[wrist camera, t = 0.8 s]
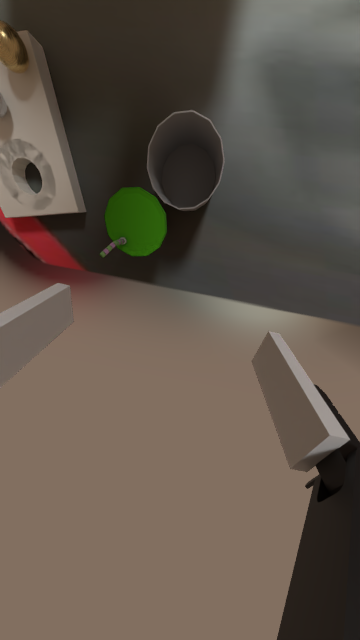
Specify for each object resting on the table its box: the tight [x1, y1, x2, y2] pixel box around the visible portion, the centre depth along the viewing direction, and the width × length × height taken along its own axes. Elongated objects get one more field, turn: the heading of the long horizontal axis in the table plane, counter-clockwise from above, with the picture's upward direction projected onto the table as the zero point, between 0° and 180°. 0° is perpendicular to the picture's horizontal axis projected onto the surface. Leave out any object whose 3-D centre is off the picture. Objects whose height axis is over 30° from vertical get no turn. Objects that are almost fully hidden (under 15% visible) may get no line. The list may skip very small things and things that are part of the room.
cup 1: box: [99, 187, 167, 258], centre depth 26 cm, size 8×8×15 cm
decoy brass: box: [0, 20, 29, 73], centre depth 21 cm, size 3×3×3 cm
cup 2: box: [147, 110, 225, 211], centre depth 25 cm, size 8×8×10 cm
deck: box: [0, 30, 86, 218], centre depth 27 cm, size 18×13×2 cm
